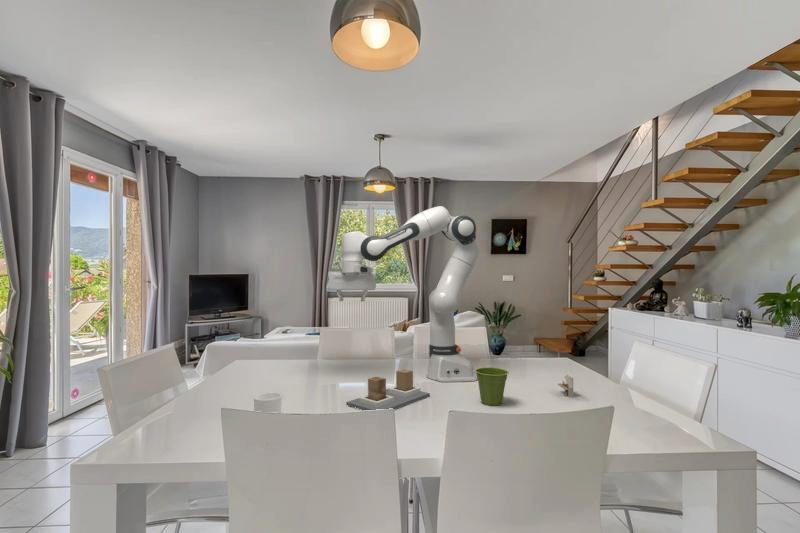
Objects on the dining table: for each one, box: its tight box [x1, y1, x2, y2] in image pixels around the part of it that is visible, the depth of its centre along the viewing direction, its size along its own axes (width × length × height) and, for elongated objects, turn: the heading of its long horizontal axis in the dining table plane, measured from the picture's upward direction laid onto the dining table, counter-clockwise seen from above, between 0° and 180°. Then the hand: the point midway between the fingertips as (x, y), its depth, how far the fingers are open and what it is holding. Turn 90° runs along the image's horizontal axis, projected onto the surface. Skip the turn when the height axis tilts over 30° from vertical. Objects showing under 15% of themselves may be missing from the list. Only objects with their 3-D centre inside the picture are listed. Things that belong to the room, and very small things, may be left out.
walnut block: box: [367, 376, 387, 401], centre depth 146 cm, size 4×4×8 cm
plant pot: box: [474, 366, 510, 406], centre depth 148 cm, size 12×12×11 cm
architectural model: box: [556, 374, 574, 398], centre depth 157 cm, size 3×7×7 cm, turn 1°
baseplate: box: [345, 368, 431, 411], centre depth 151 cm, size 27×16×9 cm, turn 139°
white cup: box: [253, 391, 283, 414], centre depth 123 cm, size 8×8×10 cm
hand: (352, 301), depth 178 cm, fingers open, 8 cm apart
